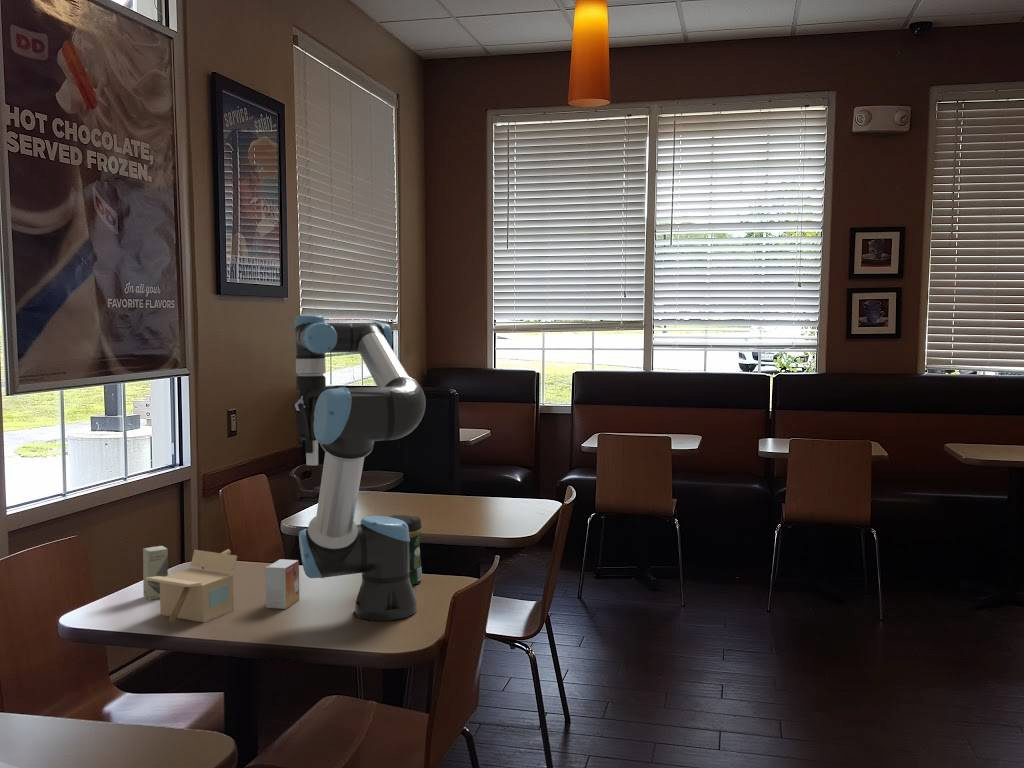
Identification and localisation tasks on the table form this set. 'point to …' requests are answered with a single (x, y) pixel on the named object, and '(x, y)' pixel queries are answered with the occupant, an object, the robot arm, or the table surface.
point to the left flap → (183, 595)
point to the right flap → (214, 560)
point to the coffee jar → (413, 546)
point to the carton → (199, 595)
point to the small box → (282, 583)
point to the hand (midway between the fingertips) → (312, 464)
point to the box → (154, 569)
